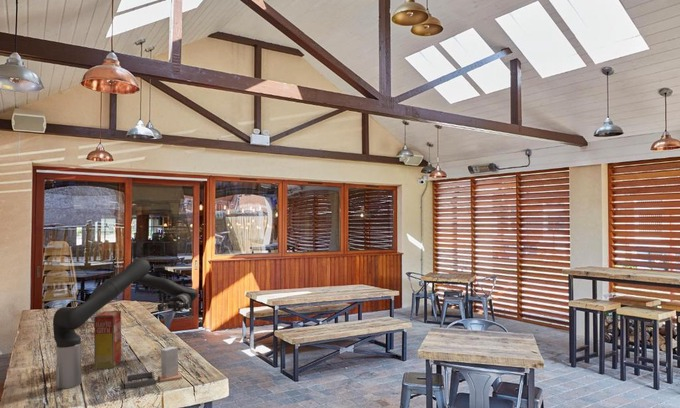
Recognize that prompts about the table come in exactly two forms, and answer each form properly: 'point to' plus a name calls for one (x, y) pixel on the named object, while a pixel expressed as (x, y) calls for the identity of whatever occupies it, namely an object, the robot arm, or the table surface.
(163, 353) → the skincare box
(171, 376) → the tile
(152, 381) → the tray
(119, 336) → the food packaging
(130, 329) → the table surface
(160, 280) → the robot arm
